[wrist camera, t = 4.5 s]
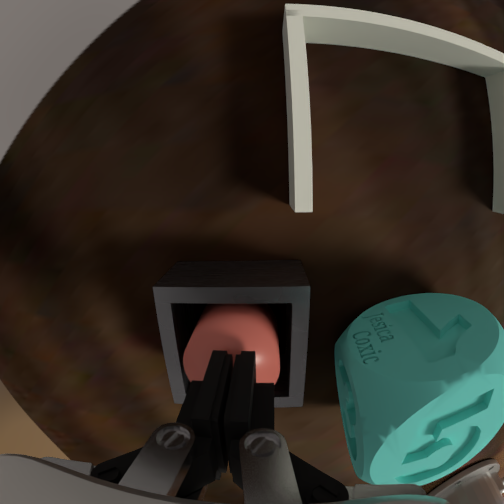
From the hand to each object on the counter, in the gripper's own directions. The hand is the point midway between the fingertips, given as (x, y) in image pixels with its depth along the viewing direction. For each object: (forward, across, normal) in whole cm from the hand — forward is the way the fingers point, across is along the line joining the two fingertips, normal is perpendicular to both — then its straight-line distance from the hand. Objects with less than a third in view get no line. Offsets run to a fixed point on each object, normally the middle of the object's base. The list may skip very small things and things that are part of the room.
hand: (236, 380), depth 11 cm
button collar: (+5, 0, 0) cm, 5 cm away
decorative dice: (+6, -9, +3) cm, 11 cm away
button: (+4, 0, 0) cm, 4 cm away
